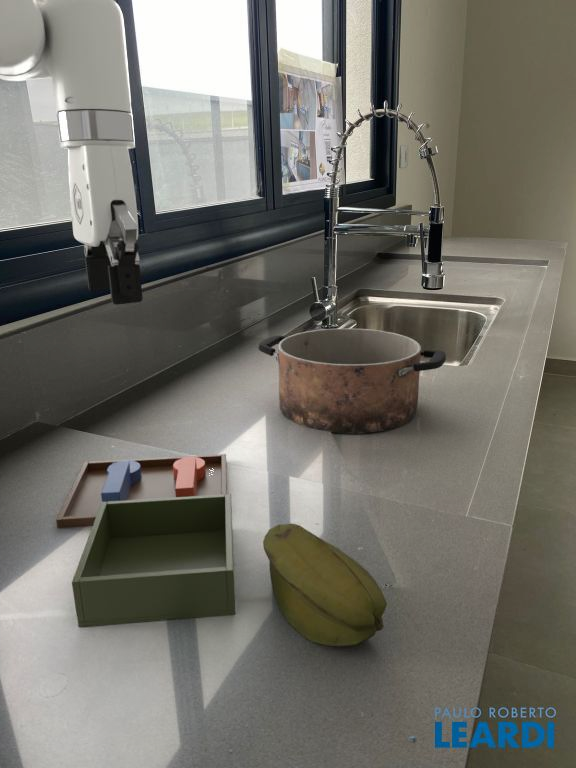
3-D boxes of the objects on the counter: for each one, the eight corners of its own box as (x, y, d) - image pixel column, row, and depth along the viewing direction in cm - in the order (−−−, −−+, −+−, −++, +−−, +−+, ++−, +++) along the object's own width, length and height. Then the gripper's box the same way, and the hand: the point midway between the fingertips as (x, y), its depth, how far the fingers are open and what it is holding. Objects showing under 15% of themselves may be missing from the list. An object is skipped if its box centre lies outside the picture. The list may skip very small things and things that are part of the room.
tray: (57, 531, 65) (55, 519, 64) (85, 471, 78) (84, 461, 78) (227, 520, 67) (227, 508, 66) (226, 463, 80) (225, 453, 80)
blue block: (94, 517, 67) (91, 493, 66) (111, 472, 77) (109, 451, 76) (131, 515, 67) (128, 491, 66) (143, 470, 77) (141, 449, 76)
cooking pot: (234, 419, 95) (231, 353, 91) (289, 378, 114) (289, 322, 111) (426, 449, 83) (431, 375, 80) (451, 397, 103) (456, 336, 99)
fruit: (237, 650, 48) (233, 580, 46) (274, 562, 59) (272, 502, 57) (381, 673, 46) (384, 600, 44) (392, 577, 57) (395, 515, 55)
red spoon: (168, 513, 67) (165, 489, 66) (175, 468, 78) (173, 447, 77) (204, 510, 68) (202, 487, 67) (206, 467, 78) (204, 445, 77)
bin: (78, 627, 51) (71, 582, 49) (106, 539, 63) (101, 501, 62) (235, 614, 52) (233, 570, 51) (232, 531, 65) (230, 493, 63)
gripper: (43, 137, 68) (63, 289, 74) (79, 125, 54) (101, 313, 60) (109, 139, 72) (124, 283, 77) (160, 127, 58) (173, 304, 63)
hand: (114, 296), depth 69 cm, fingers open, 9 cm apart
